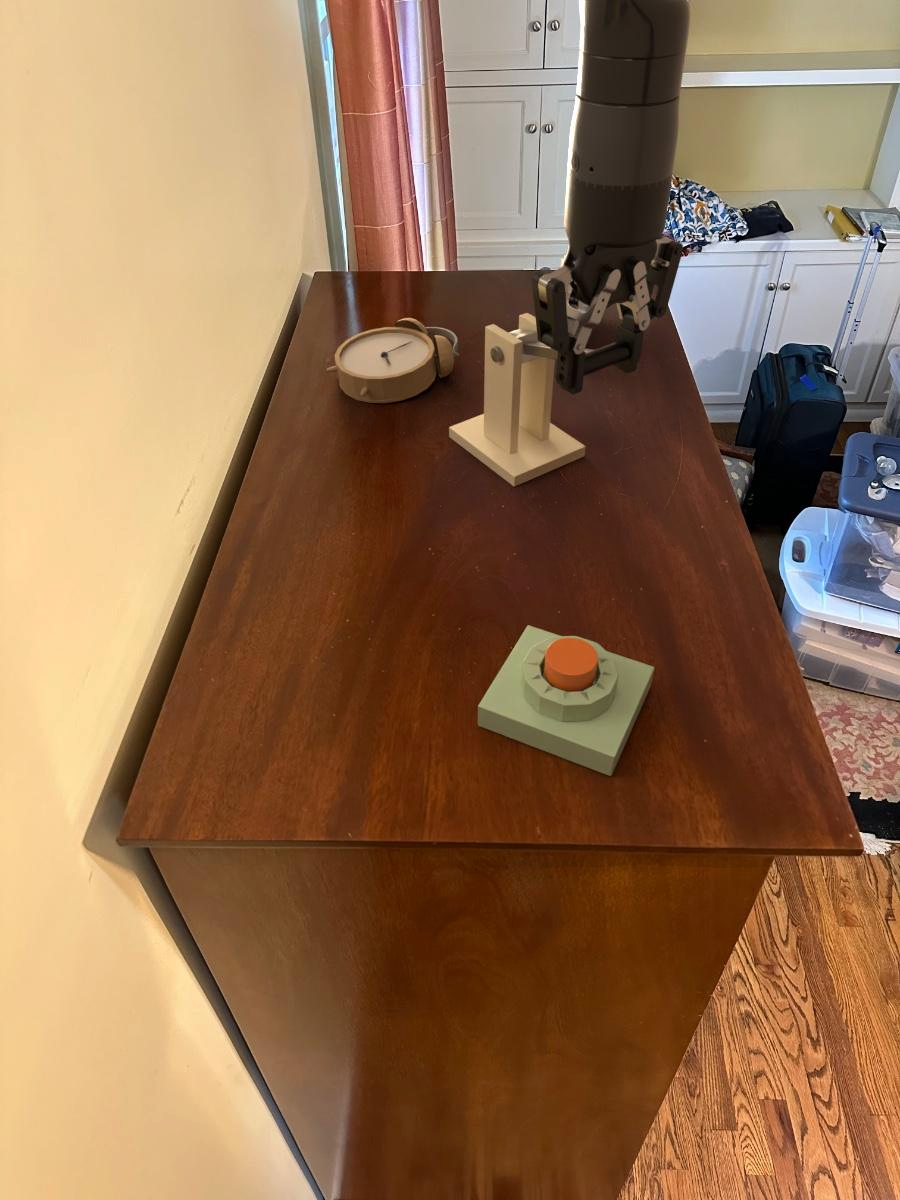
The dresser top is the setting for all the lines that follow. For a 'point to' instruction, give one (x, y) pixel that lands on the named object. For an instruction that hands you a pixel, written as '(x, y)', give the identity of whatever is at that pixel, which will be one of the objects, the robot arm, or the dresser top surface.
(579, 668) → the button
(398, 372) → the alarm clock
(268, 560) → the dresser top surface
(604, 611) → the dresser top surface
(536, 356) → the lever
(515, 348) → the bracket
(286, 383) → the dresser top surface
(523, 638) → the button block
